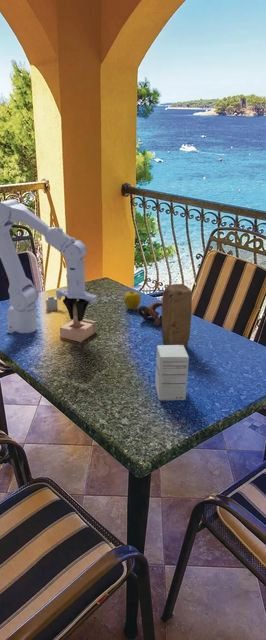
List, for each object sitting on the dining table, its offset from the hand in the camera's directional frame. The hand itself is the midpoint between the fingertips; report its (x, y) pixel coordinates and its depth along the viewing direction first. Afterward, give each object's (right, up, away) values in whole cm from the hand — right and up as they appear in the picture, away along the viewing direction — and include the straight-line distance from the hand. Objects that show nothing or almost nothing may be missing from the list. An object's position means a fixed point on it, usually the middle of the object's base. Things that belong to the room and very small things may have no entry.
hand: (76, 319), depth 151 cm
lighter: (-12, +4, +29) cm, 31 cm away
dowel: (0, -2, +1) cm, 2 cm away
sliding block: (0, -5, +2) cm, 6 cm away
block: (+32, -8, 0) cm, 33 cm away
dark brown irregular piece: (+26, -1, +19) cm, 32 cm away
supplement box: (+28, -20, -29) cm, 45 cm away
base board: (-1, -7, +1) cm, 7 cm away
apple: (+18, +4, +31) cm, 36 cm away
